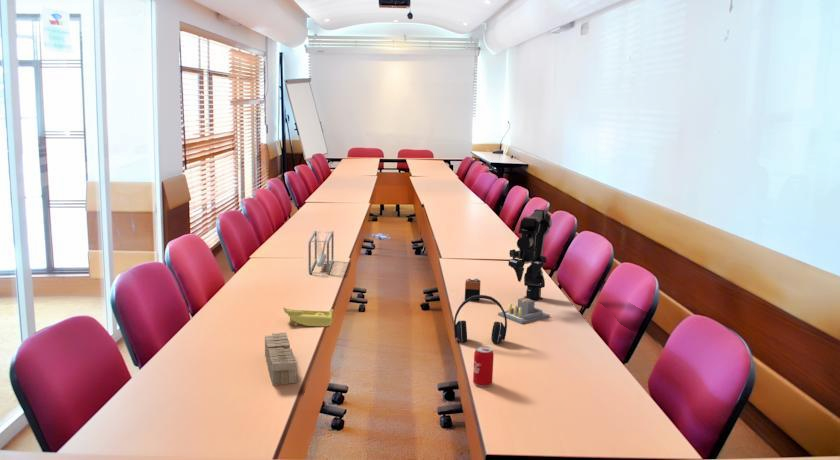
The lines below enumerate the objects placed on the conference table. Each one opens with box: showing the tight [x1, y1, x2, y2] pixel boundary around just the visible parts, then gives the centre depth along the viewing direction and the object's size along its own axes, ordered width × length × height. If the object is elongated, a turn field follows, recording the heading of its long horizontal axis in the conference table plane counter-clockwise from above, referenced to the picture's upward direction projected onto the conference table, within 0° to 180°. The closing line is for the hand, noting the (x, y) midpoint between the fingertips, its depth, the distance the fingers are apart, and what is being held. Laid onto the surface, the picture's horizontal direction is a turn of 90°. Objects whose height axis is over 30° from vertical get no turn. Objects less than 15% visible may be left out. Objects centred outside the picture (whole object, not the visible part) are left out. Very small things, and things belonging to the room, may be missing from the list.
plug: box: [517, 297, 536, 315], centre depth 286 cm, size 4×6×6 cm
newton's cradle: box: [307, 230, 335, 275], centre depth 357 cm, size 30×10×18 cm, turn 3°
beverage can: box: [472, 345, 495, 388], centre depth 215 cm, size 6×6×12 cm
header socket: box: [497, 303, 551, 325], centre depth 285 cm, size 17×14×6 cm
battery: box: [464, 278, 481, 302], centre depth 307 cm, size 4×7×10 cm, turn 83°
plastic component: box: [283, 306, 334, 328], centre depth 270 cm, size 20×7×10 cm
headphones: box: [453, 294, 508, 344], centre depth 252 cm, size 20×7×18 cm, turn 88°
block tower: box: [264, 332, 298, 386], centre depth 223 cm, size 8×8×29 cm
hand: (526, 280), depth 295 cm, fingers open, 9 cm apart
